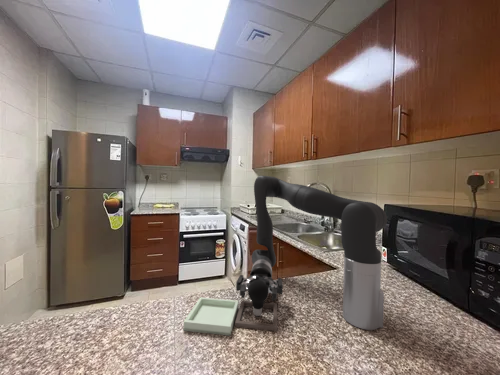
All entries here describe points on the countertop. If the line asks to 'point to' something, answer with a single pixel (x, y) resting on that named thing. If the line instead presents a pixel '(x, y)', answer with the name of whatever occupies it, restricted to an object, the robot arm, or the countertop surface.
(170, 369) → the countertop surface
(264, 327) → the brown square frame
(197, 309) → the parts tray
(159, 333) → the countertop surface
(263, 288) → the light bulb
